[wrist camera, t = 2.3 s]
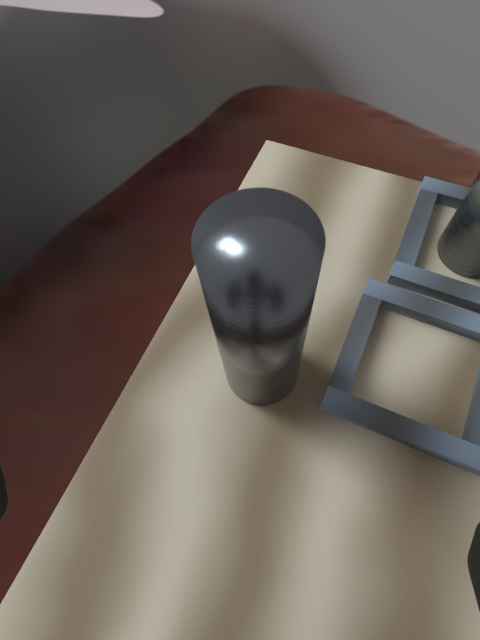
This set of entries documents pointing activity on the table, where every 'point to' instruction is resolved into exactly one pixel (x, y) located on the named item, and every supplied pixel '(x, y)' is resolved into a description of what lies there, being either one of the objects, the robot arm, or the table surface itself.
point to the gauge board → (288, 454)
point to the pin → (259, 286)
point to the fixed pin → (463, 236)
